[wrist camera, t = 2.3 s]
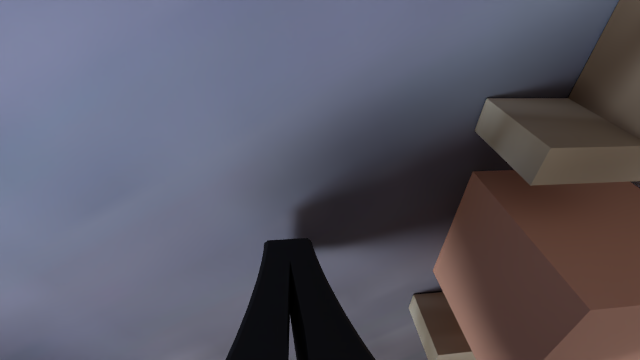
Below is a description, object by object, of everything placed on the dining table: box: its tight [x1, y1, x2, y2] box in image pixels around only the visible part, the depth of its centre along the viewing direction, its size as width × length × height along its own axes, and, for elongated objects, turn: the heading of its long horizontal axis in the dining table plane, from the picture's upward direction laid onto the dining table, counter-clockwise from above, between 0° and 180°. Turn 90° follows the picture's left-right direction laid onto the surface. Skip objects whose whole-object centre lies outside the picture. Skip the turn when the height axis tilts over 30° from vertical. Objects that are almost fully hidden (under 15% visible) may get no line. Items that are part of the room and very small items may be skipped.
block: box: [433, 170, 640, 360], centre depth 11 cm, size 5×5×5 cm
